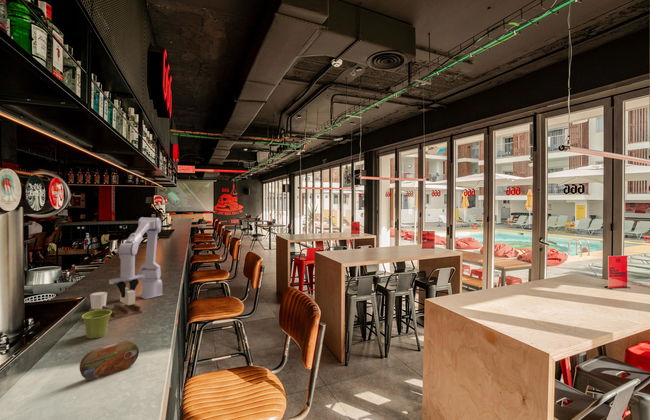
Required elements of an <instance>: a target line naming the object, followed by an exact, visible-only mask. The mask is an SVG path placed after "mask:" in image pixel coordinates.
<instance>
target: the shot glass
mask: <svg viewBox="0 0 650 420" xmlns="http://www.w3.org/2000/svg"><path fill="white" fill-rule="evenodd" d="M89 297H90V298H89V299H90V309H93V310H102V306H106V307H107V299H108V298H107V297H108V292H107V291H98V292H97V291H96V292H92V293H90V294H89Z"/></svg>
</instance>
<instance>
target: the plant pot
mask: <svg viewBox="0 0 650 420" xmlns="http://www.w3.org/2000/svg"><path fill="white" fill-rule="evenodd" d="M111 313H112V311H111V310H102V309H96V310H95V311H91V312H89V311H88V312H86V313H83V314H82V315H81V318H82V321H83V322H84V326H85V328H84V329H85V334H86V338H87V339H88V340H89V339H90V340H93V339H99V338H102V337H104V336H106V334H107V331H108V327H109V326H108V325H109V322H110V321H109V317H110V314H111Z"/></svg>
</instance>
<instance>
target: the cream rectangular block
mask: <svg viewBox="0 0 650 420" xmlns="http://www.w3.org/2000/svg"><path fill="white" fill-rule="evenodd" d="M119 302H121V303H123V304H125V305H126V304H127V305H132V304H136V290H135V291H134V290H132V289H130V287H125V298H122V297H121V293H120V292H119Z"/></svg>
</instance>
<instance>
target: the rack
mask: <svg viewBox="0 0 650 420" xmlns="http://www.w3.org/2000/svg"><path fill="white" fill-rule="evenodd" d="M101 310H111V311H112V313H111V314H110V317H109V321H108V322H110V321H114V320H119V319H122V317H123V318H126V317H129V316H133V315H138V314H141V313H142V311H143V310H141V306H140V305H138V304H136V303H135V304H132V305H127V304H125V305H120V304H118V303H117V302H114V304H113V307H111V308H109V307H108V306H107V305H106V306H102V309H101ZM91 311H95V310H94V309H91V308H89V309H88V312H91Z"/></svg>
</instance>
